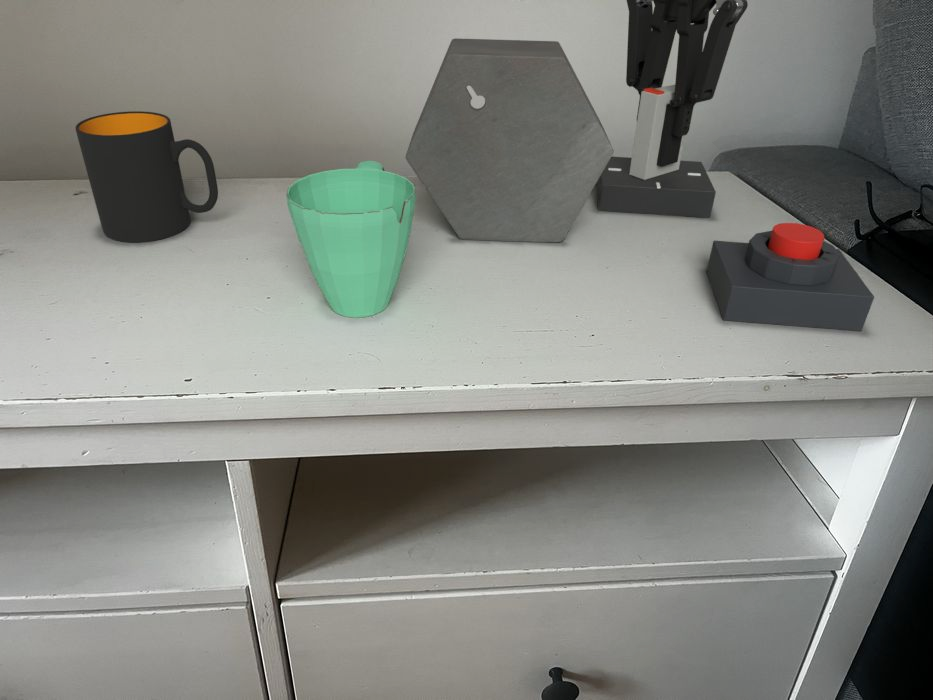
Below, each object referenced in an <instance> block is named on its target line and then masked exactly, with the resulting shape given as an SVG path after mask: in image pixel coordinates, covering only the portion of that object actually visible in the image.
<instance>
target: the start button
mask: <svg viewBox="0 0 933 700" xmlns="http://www.w3.org/2000/svg"><path fill="white" fill-rule="evenodd" d="M771 231H772V234H771V237H770V241H769V245H768V249H769V250H771V251H773V252H774V253H776V254H778V255H782V256H785V257H789V258H793V259H805V260H811V259H816V258H818V256H819V253H820V250H821V247H822V244H823V241H825V234H824V233H823V232H822V231H821V230H819V229H817V228H816V227H813V226H810V225H806V224H803V223H798V222H782V223H777V224H775V225H774V226H773V227H772V230H771Z"/></svg>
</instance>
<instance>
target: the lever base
mask: <svg viewBox="0 0 933 700" xmlns="http://www.w3.org/2000/svg"><path fill="white" fill-rule="evenodd" d="M631 159H632V157H627V156H625V157H624V156H612V157H611V158H610V160H609V162H608V164H607V165H606V167H605V169H604V170H603V172H602V174H601V176H600V177H599V179H598V181H597V183H596V194H597V204H598V211H601V212H614V213H615V212H616V213H629V214H643V215H644V214H645V215H646V214H647V215H660V216H677V217H678V216H679V217H692V218H705V219H706V218H707V219H710V218H711V216H712V211H713V206H714V202H715V197H716V194H717V191H716V189H715V187H714V185H713V183H712V181H711V179H710V176H709V175H708V172H707V171H706V169H705V165H704V164H703V162H702V161H696V160H680V165H679V170H676V171H672V172H669V173H666V174H662V175H659V176H656V177H653V178H649V179H646V180H643V179H640V178H638V177H635V176H632V175H630V174H629V173H630V166H631Z"/></svg>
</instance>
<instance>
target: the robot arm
mask: <svg viewBox="0 0 933 700" xmlns="http://www.w3.org/2000/svg"><path fill="white" fill-rule="evenodd" d="M626 4H627V9H628V27H627V28H628V29H627V49H626V51H627V53H626V77H625V82H626V85H627V86H628V88H634V90H636V91H637V93H638V95H639V100H638V108H637V115H636V120H637V119H638V112H639V106H640V99H641V92H642V91H644V89H646V88H654V89H655V88H660V87H663V85H664V84H663V83H664V80H665V75H666V71H667V68H668V65H669V64H668V63H669V60H670V56H671V52H672V47H673V44H674V40H675V36H676V33H677V34H678V45H677V46H678V47H677V59H676V72H675V83H674V85H675V94H674V100H669V101H670V104H667V105H666V111H665V117H664V123H663V129H662V135H661V141H660V147H659V153H658V159H657V165H658V166H661V167H663V166H666V165H669V164H673V163H676V162H678V156H679V151H680V145H681V140H682V136H684V135H685V136H687V135H688V133H689V132H690V127H691V123H692V117H693V112H694V107H695V105H696V104H698V103H702V102H706V101H710V100H712V99H713V98H714V95H715V93H716V89H717V86H718V83H719V80H720V76H721V73H722V71H723V67H724V64H725V61H726V57H727V54H728V51H729V48H730V45H731V41H732V39H733V35H734V32H735V29H736V26H737V24H738V23H739V21H740V19H741V18H742V17H743V15H744V14H745V12H746V10H747V9H748V5H749V4H748V0H626ZM653 5H654V7H653ZM711 10H712V14H713V15H714V16H713V18H712V21H711V23H710V26H709V17H710V16H709V15H710V12H711ZM708 26H709V27H708ZM707 30H708V32H707ZM706 32H707V35H706V39H705V33H706ZM704 40H705V42H704Z"/></svg>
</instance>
